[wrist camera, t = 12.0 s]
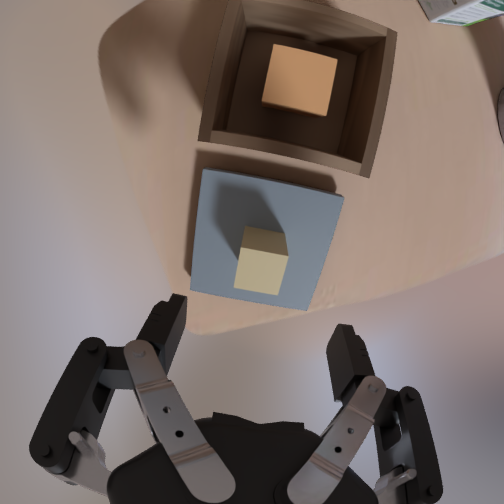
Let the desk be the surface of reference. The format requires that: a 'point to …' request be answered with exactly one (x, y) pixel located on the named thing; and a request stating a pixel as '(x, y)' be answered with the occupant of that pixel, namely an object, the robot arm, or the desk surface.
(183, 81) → the desk surface
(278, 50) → the block
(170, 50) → the desk surface
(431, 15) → the syrup box
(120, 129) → the desk surface
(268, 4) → the storage box
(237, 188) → the lid
